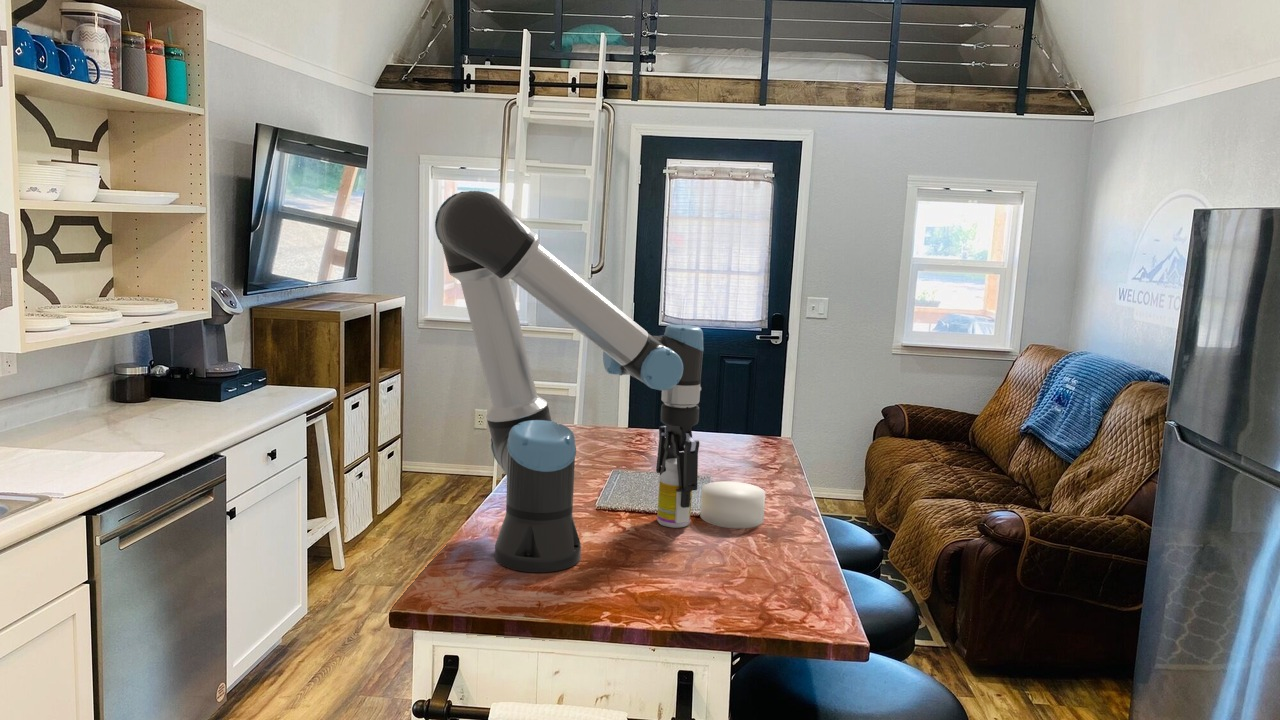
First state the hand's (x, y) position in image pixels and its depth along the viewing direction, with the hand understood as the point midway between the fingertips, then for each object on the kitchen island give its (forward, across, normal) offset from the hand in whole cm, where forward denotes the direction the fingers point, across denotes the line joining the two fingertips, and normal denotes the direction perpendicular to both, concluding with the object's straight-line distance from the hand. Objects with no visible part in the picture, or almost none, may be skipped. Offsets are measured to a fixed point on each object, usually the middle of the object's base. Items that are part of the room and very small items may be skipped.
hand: (673, 515), depth 184 cm
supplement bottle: (+2, 0, 0) cm, 2 cm away
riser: (+2, 0, -13) cm, 13 cm away
